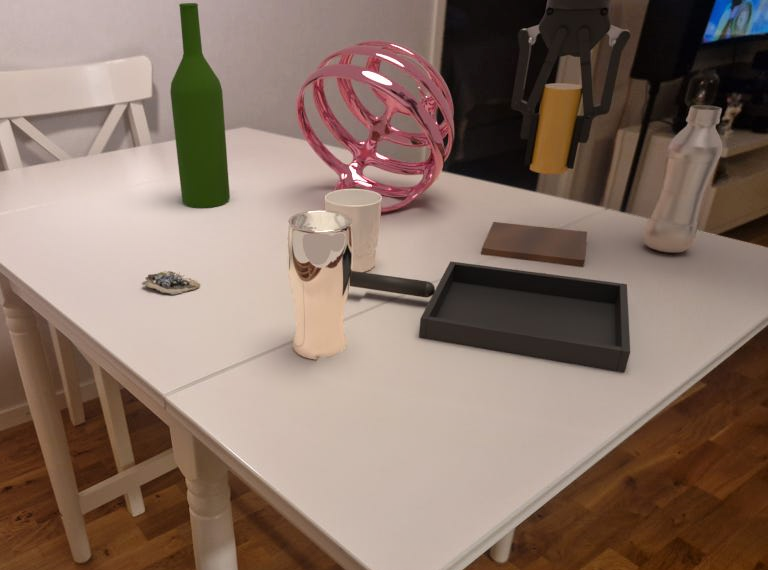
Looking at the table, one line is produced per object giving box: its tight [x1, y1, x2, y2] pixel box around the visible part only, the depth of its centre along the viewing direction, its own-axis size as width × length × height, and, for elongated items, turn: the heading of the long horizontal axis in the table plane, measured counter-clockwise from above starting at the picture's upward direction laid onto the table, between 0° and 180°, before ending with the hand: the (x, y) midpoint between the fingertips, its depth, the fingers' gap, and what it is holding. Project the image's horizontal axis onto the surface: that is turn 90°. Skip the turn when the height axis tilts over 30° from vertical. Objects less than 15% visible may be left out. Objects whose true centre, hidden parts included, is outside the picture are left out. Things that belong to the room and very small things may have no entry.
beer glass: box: [286, 209, 353, 361], centre depth 71 cm, size 7×7×15 cm
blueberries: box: [141, 270, 201, 296], centre depth 90 cm, size 7×8×2 cm
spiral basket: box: [295, 39, 456, 214], centre depth 113 cm, size 28×28×27 cm
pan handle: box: [349, 271, 436, 299], centre depth 83 cm, size 12×2×2 cm, turn 67°
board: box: [480, 221, 588, 268], centre depth 99 cm, size 14×12×2 cm
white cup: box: [324, 188, 383, 273], centre depth 93 cm, size 8×8×10 cm
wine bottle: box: [169, 2, 231, 209], centre depth 115 cm, size 9×9×32 cm
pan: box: [418, 261, 631, 374], centre depth 78 cm, size 22×18×3 cm
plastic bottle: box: [643, 104, 723, 254], centre depth 92 cm, size 6×7×20 cm
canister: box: [529, 82, 583, 175], centre depth 90 cm, size 5×5×11 cm
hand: (549, 164), depth 92 cm, fingers closed on canister, 5 cm apart
